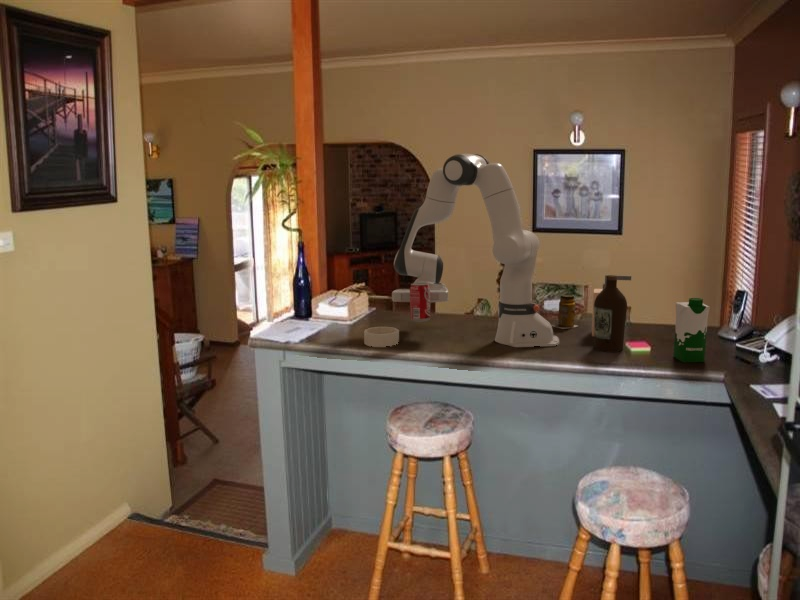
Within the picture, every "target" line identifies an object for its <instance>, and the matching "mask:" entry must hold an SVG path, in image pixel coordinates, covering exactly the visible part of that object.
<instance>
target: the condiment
mask: <svg viewBox="0 0 800 600" xmlns="http://www.w3.org/2000/svg"><path fill="white" fill-rule="evenodd" d="M559 298H560V300H559V302H558V323H555V324H551V326H552V328H553V327H554V328H557V329H562V330H565V329H571V328H576V327H578V325H577V324H575V315H576V314H575V313H576V312H575V309H576V302H575V295H573V294H560V296H559Z"/></svg>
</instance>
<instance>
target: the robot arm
mask: <svg viewBox="0 0 800 600" xmlns="http://www.w3.org/2000/svg"><path fill="white" fill-rule="evenodd" d="M474 185H475V186H476V187H477V188H478V189H479V191H480V193H481V197H482V199H483V203H484V205H485V207H486V211H487V214H488V217H489V220H490V221H489V222H490V225H491V227H490V228H491V233H492V241H493V244H492V254H493V255H492V256H493V257H494V258H495V261H497V262H498V263H500V264H502V265H504V268H503V271H502V275H501V277H500V280H499V282H500V283H499V301H498V305H497V315H498V324H497V330H496V334H495V337H494V341H495V342H496V343H498V344H500V345H506V346H510V347H513V348H534V346H540V347H557V346H559V345H560V338H559V337H558V336H557V335H554V330H553V326H551V325H552V324H551V323H550V322H549V321H548V320H547V319H546V318H544V316H542V315H540V313H538V312H539V311H540V306H539V305H538V303H536V302H533V300H532V299H533V278H534V277H533V276H534V273H535V272H534V271H535V268H536V267H535V266H536V262H537V256H538V252H539V250H540V245H541V244H540V239H539V237H538V236H537V235H536V234H535V233H534V232H533V231H530V230H526V229H523V227H522V220H521V219H522V218H521V217H522V216H521V215H522V209H521V208H522V207H521V206H520V203H519V199H518V197H517V195H516V192H515V188H514V186H513V183H512V181H511V179H510V176H509V174H508V173H507V170H506V169H505V167H504V166H503V165H502V164H501V163H499V162H489V159H488V158H486V157H485V156H483V155H481V154H478V153H473V154H472V153H461V154H459V153H458V154H454V155H452V156H450V157H448V158H447V159H446V160H445V161H444V164H443V166H442V167H440V168H439V167H438V168H436V169H435V170H434V171H433V173H432V175H431V177H430V180H429V183H428V185H427V190H426V194H425V199H424V202H423V203H422V205H421V206H420V207H418V208H415V210H414V212H413V213H412V216H411V217H410V221H409V223H408V226H407V228H406V231H405V234H404V237H403V239H402V242H401V245H400V247H399V248H398V250H397V252H396V254H395V257H394V259H393V260H394V261H393V268H394V270H395V272H396V273H398V275H400V276H408V277H409V276H410V277H414V278H416V279H415V281H414V282H413V283H412V284H414V283H428V284H429V287H430V304H431V303H442V302H445V303H446V302H449V289H448V287H446V284H445V283H440V282H441V280H442V277H443V272H444V261H443V259H442V257H441V255H438V254H434V253H430V252H429V253H428V252H424V251H418V250H414V249H412V247H413V243H414V240H415V238H416V236H417V233H418V231H419V230H420V229H421V228H422V227H425V226H430V225H436V224H440V223H443V222H445V221H447V220H448V219H449V218H451V217H452V215H453V213H454V210H455V207H456V204H457V203H456V202H457V198H458V192H459V190H460V189H461V187H462V186H466V187H467V186H474ZM391 300H392V302H394V303H395V302H396V303H397V302H399V303H400V302H401V303H405V302H406V303H408V302H409V303H410V288H397V289H395V290H393V291H392V292H391ZM556 345H557V346H556Z"/></svg>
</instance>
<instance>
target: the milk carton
mask: <svg viewBox="0 0 800 600" xmlns="http://www.w3.org/2000/svg"><path fill="white" fill-rule="evenodd" d="M710 307H711V306H709V305H707V304H705V303H704V299H703V298H700V297H690V298H689V299H688V302H687V301H685V302H684V301H682V302H675V327H674V328H675V329H674V345H673V357H674V359H676V360H678V361H680V362H681V363H705V360H706V359H705V357H706V345H707V335H708V334H707V333H708V321H709V319H708V317H709V313H710Z"/></svg>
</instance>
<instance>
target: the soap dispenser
mask: <svg viewBox="0 0 800 600" xmlns="http://www.w3.org/2000/svg"><path fill="white" fill-rule="evenodd" d="M607 275H608V274H605V275H604V283H602V288H594V289H593V294H592V295H593V296H592V299H593V300H592V316H591V317H592V321H591V322H592V323H591V337H594V302H595V299H596V297H597V295H598V294H599V293H600V292H601V291H602V290H603V289H604V288H605V287H606V280H607ZM616 276H617V278H616V280H617V281H632V275H621V274H619V275H617V274H616Z"/></svg>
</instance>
